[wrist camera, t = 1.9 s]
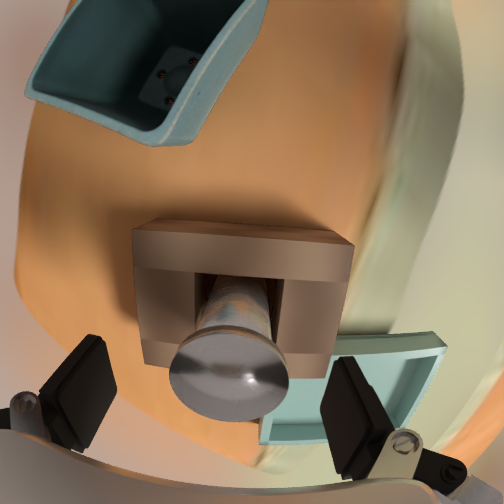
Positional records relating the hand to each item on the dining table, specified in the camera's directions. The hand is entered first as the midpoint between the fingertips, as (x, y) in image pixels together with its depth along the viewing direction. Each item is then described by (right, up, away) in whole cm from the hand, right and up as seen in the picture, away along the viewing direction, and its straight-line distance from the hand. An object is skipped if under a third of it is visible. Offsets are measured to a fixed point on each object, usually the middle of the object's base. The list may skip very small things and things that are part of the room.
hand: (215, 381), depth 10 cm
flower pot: (-3, +16, +6) cm, 18 cm away
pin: (+1, +3, +9) cm, 10 cm away
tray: (+10, -7, +12) cm, 17 cm away
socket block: (+1, +2, +9) cm, 9 cm away
